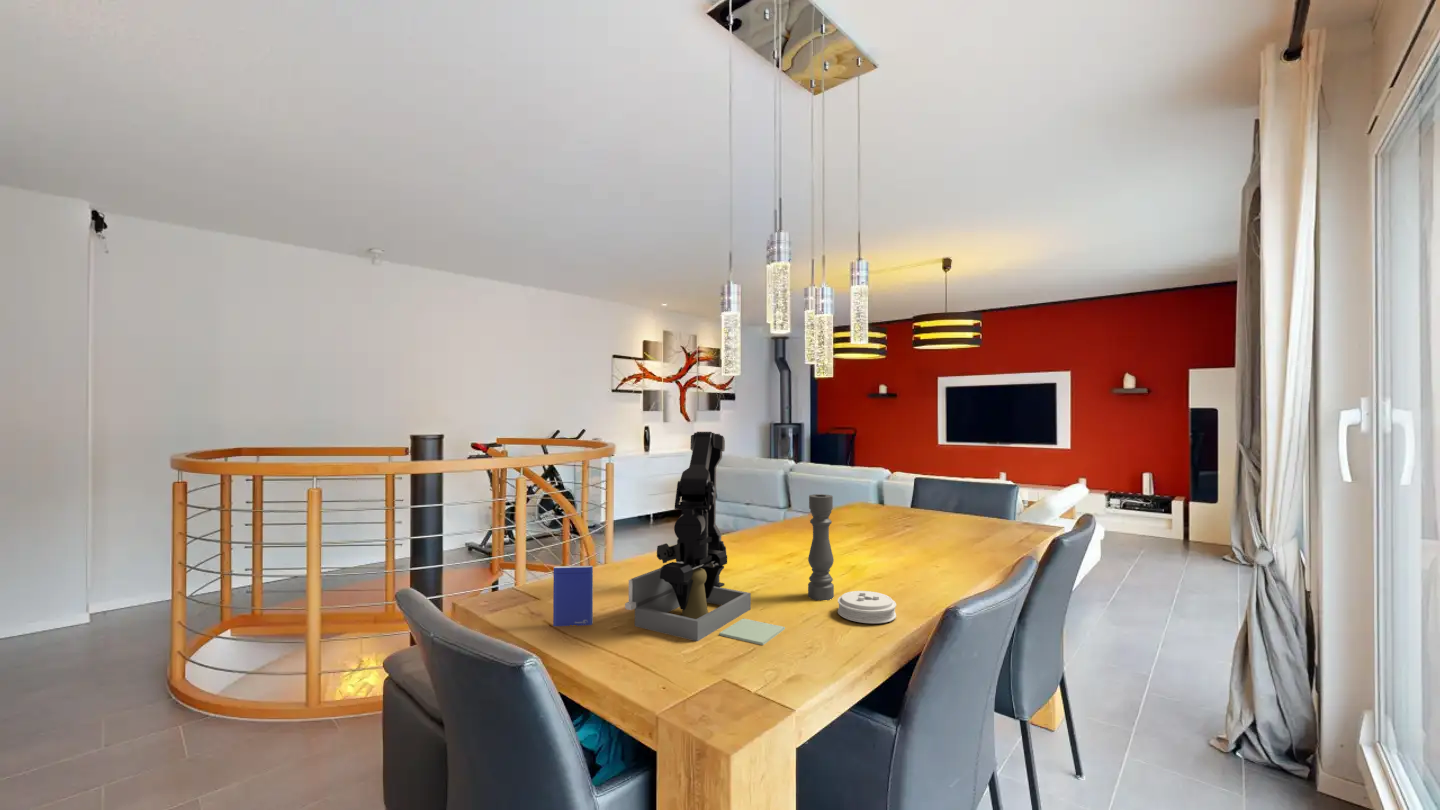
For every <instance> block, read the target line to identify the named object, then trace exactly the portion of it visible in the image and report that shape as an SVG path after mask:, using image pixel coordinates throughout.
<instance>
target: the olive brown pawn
mask: <svg viewBox="0 0 1440 810" xmlns="http://www.w3.org/2000/svg"><path fill="white" fill-rule="evenodd" d="M706 578H707V574H706V571H705V570H704V569H702V568H697V569H694V570H693V575H692V577H691V579H692V580H693V583H692V587H691V591H690V595H689V599H688V603H687V606H686V609H685V610H682V609H681V610H682V611H681V616H684V617H688V618H693V619H698V618H699V617H701V616H703V615H705V614H707V613H709V612H708V605H707V602H706V594H705V587H704V583H705V582H706Z"/></svg>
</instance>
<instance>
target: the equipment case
mask: <svg viewBox="0 0 1440 810" xmlns="http://www.w3.org/2000/svg"><path fill="white" fill-rule="evenodd" d="M675 562H676V561H675ZM676 563H682V564H683V562H676ZM660 568H661V567H659V568H657V569H654V570H651V571H648V572H646V573H642V574H641V575H637V576H635V577H632V578H630V579H628V601H627V602H624V609H625V610H628V611H629V610H630V611H633V610H634V627H637V628H641V629H643V630H649V631H653V632H657V633H661V634H666V635H669V636H674V637H678V638H682V639H686V640H690V641H694V642H699V641H701V640H702V639H705V638H706V637H707V636H709V635H710V634H713V633H714V632H715V631H718V630H719V629H720V628H722V627H724V626H725V625H727V624H729V623H730V622H732V621H734V620H735V619H737V618H739V617H740V616H742V615H744V614H745V613H748V612H749V611H750V610H751V608H752V607H751V604H752V603H751V601H752V600H751V599H752V598H751V592H747V591H743V590H736V589H732V588H726V587H715V586H714V587H713V589H712V592H711V594H710V596H709V598H708V599H707V598H706V602H707V603H708V604H714V605H719V607H717V608H714V609H713V610H710V611H709V612H708V613H707V614H705V615H703V616H701V617H699V618H698V619H693V618H688V617H684V616H682V615H678V614H673V613H670V612H672V611H674V610H676V609H678V608H680V606H679V603H678V600H677V597H676V594H675V591H674V589H673V587H672V585H671V584H670V583H669V582H665V581H664V579H660Z"/></svg>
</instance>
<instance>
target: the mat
mask: <svg viewBox="0 0 1440 810" xmlns="http://www.w3.org/2000/svg"><path fill="white" fill-rule="evenodd" d="M785 629H786V627H785V626H782V625H776V624H772V623H767V622H762V621H757V620H753V619H749V618H741V619H740V620H738V621H737V622H735V623H733V624H732V625H729V626H728V627H726V628H724V629H723V630H722V631H720V632H718V633H719V634H718V635H719V636H722V637H725V638H726V637H727V638H730V639H735V640H738V641H742V642H747V643H750V644H756V645H759V646H764V645H765V644H767V643H769V642H770V641H771V640H772V639H774V638H775V637H776V636H777V635H779V634H781V633H782V632H783V631H784V630H785Z"/></svg>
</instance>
